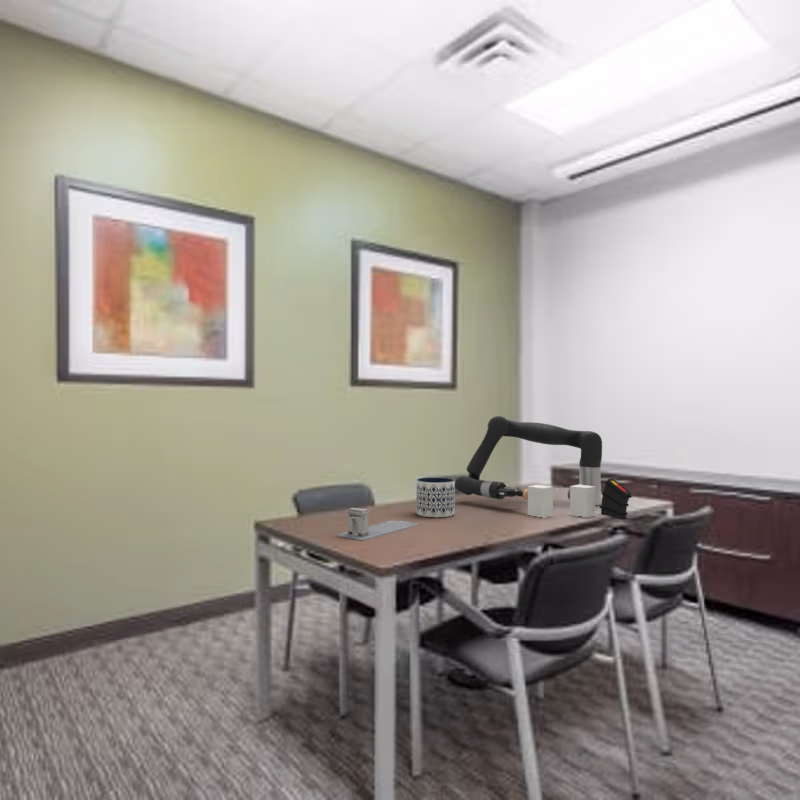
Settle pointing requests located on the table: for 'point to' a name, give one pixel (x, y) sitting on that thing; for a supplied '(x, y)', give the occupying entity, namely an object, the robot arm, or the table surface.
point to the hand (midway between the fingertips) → (526, 494)
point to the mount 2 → (582, 500)
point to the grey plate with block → (362, 531)
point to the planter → (435, 497)
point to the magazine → (614, 499)
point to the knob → (525, 494)
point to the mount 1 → (540, 500)
